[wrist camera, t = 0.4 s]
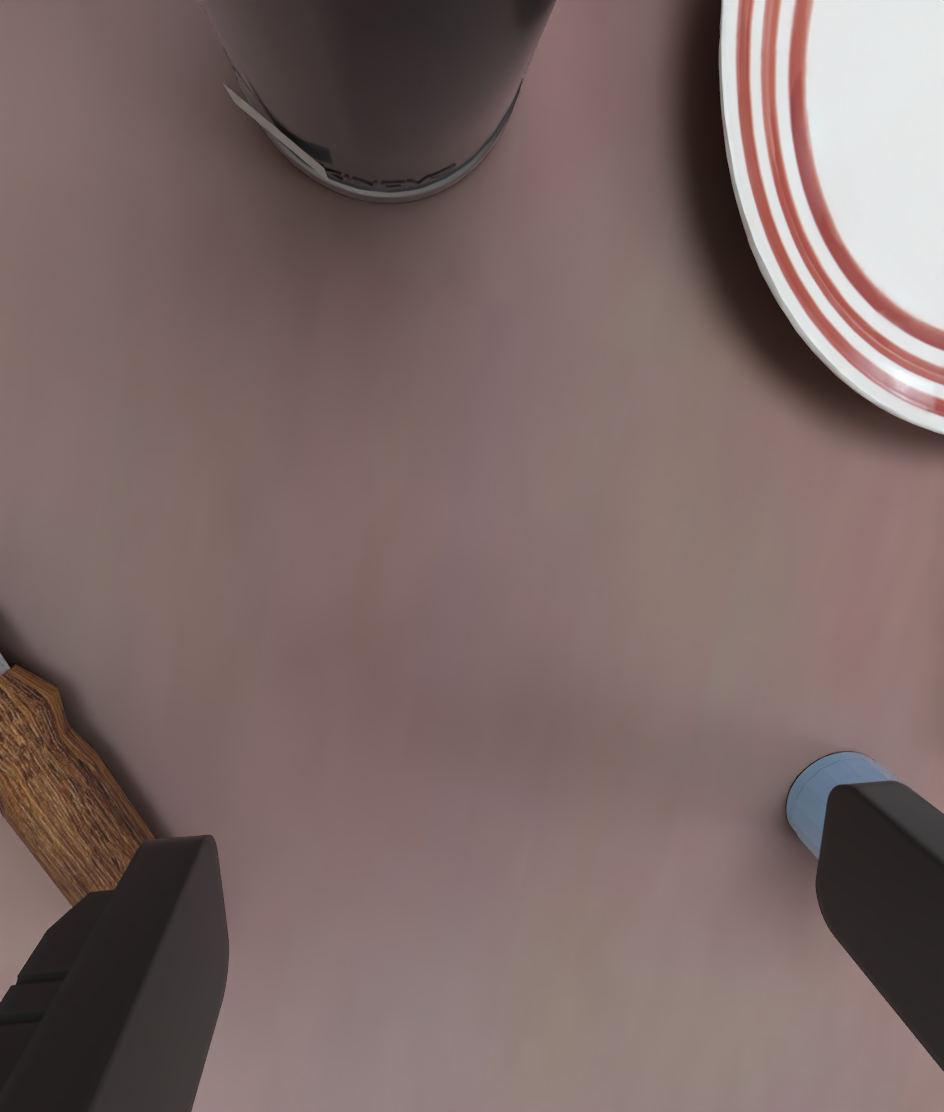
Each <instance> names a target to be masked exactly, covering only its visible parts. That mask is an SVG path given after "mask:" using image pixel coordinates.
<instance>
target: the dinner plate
mask: <svg viewBox="0 0 944 1112" xmlns="http://www.w3.org/2000/svg"><path fill="white" fill-rule="evenodd" d="M719 80H720V99H721V112H722V122H723V130H724V139H725V148H726V155H727V161H728V166H729V171H730V176H731V182H732V186H733V190H734V194H735V198H736V202H737V206H738V209H739V212H740V216H741V219H742V223H743V226H744V229H745V232H746V236H747V239H748V242H749V245H750V248H751V250H752V252H753V255H754V257H755V259H756V262H757V264H758V267H759V269H760V271H761V273H762V275H763V277H764V279H765V281H766V283H767V285H768V286H769V288H770V290H771V292H772V294H773V296H774V297H775V299H776V301H777V303H778V304H779V306H780V308H781V309H782V310H783V312H784V313H785V314H786V316H787V318H788V319H789V321H790V322H791V324H792V326H793V327H794V329H795V330H796V332H797V333H798V334H799V335H800V337H801V338H802V339H803V340H804V342H805V343H806V344H807V345H808V347H809V348H810V349H811V350H812V351H813V352H814V354H815V355H816V356H817V357H818V358H819V359H820V360H821V361H822V362H823V363H824V364H825V365H826V366H827V367H828V368H829V369H830V370H831V371H832V372H833V373H834V374H835V375H836V376H837V377H838V378H839V379H841V380H842V381H843V382H844V383H845V384H847V385H848V386H849V387H850V388H852V389H853V390H854V391H855V392H857V393H858V394H859V395H861V396H862V397H864V398H865V399H867V400H868V401H870V402H871V403H873V404H874V405H876V406H877V407H879V408H881V409H883V410H885V411H887V412H888V413H890V414H892V415H894V416H896V417H898V418H900V419H902V420H905V421H907V422H909V423H912V424H914V425H917V426H919V427H922V428H925V429H927V430H930V431H933V432H936V433H939V434H943V435H944V0H721V18H720V42H719Z"/></svg>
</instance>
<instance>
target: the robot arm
mask: <svg viewBox="0 0 944 1112" xmlns="http://www.w3.org/2000/svg"><path fill="white" fill-rule="evenodd" d="M199 1H200V3H201V5H202V7H203V8H204V10H205V12H206V14H207V16H208V18H209V20H210V22H211V24H212V26H213V28H214V30H215V32H216V34H217V36H218V38H219V40H220V42H221V44H222V46H223V48H224V50H225V52H226V54H227V56H228V58H229V60H230V62H231V64H232V66H233V69H234V72H235V75H236V78H237V80H238V82H239V85H240V87H241V89H242V92H243V94H244V96H245V98H246V99H247V101H248V103H249V105H248V104H247V103H246V102H245V101H244V100H242V99H241V98H240V97H239V96H238V95H237V94H235V93H234V92H233V91H232V90H231V89H229V88H228V87H227V86H226V85H225V84H224V86H225V87H226V89H227V91H228V92H229V94H230V96H231V97H232V99H233V101H234V102H235V103H236V104H237V105H238V106H239V107H240V108H242V109H243V110H244V111H245V112H246V113H248V114H249V115H250V116H251V117H252V118H254V119H255V120H256V121H257V122H258V123H260V125H261V126H262V128H263V130H264V131H265V133H266V134H267V135H268V137H269V138H270V139H271V141H272V142H273V143H274V145H275V146H276V147H277V148H278V149H279V150H280V151H281V152H282V154H283V155H284V156H285V157H286V158H287V159H288V160H289V161H290V162H292V163H293V164H294V165H295V166H296V167H297V168H298V169H299V170H301V171H302V172H303V173H305V174H306V175H307V176H309V177H310V178H312V179H313V180H315V181H316V182H318V183H320V184H321V185H323V186H325V187H327V188H329V189H331V190H333V191H335V192H337V193H340V194H343V195H345V196H348V197H351V198H355V199H359V200H362V201H369V202H375V203H403V202H409V201H415V200H419V199H422V198H426V197H429V196H432V195H434V194H436V193H439V192H441V191H443V190H445V189H447V188H449V187H451V186H452V185H454V184H455V183H457V182H458V181H460V180H461V179H463V178H464V177H465V176H466V175H468V174H469V173H470V172H471V171H472V170H473V169H475V168H476V166H477V165H478V164H479V163H480V162H481V161H482V160H483V159H484V158H485V157H486V155H487V154H488V153H489V151H490V150H491V149H492V148H493V146H494V144H495V143H496V141H497V140H498V138H499V137H500V135H501V133H502V131H503V129H504V127H505V125H506V123H507V121H508V119H509V116H510V114H511V112H512V109H513V107H514V104H515V102H516V99H517V97H518V93H519V90H520V87H521V83H522V79H523V76H524V74H525V72H526V70H527V68H528V65H529V63H530V61H531V58H532V56H533V54H534V51H535V49H536V47H537V44H538V42H539V40H540V37H541V35H542V33H543V30H544V28H545V26H546V23H547V21H548V19H549V16H550V14H551V12H552V9H553V7H554V5H555V2H556V0H199ZM816 894H817V900H818V904H819V907H820V910H821V913H822V915H823V918H824V920H825V922H826V924H827V926H828V928H829V929H830V931H831V932H832V934H833V935H834V936H835V938H836V939H837V940H838V942H839V943H840V944H841V945H842V946H843V948H844V949H845V950H846V951H847V953H848V954H849V955H850V956H851V958H852V959H853V960H854V961H855V963H856V964H857V965H858V966H859V967H860V969H861V970H862V971H863V972H864V974H865V975H866V976H867V977H868V979H869V980H870V981H871V982H872V984H873V985H874V986H875V987H876V988H877V990H878V991H879V992H880V993H881V995H882V996H883V997H884V998H885V1000H886V1001H887V1002H888V1003H889V1005H890V1006H891V1007H892V1008H893V1010H894V1011H895V1012H896V1013H897V1014H898V1016H899V1017H900V1018H901V1019H902V1021H903V1022H904V1023H905V1024H906V1026H907V1027H908V1028H909V1029H910V1031H911V1032H912V1033H913V1034H914V1035H915V1037H916V1038H917V1039H918V1040H919V1042H920V1043H921V1044H922V1045H923V1047H924V1048H925V1049H926V1050H927V1052H928V1053H929V1054H930V1055H931V1057H932V1058H933V1059H934V1060H935V1061H936V1063H937V1064H938V1065H939V1066H940V1068H941V1069H942V1070H943V1071H944V814H943V813H941V812H940V811H939V810H938V809H936V808H935V807H934V806H932V805H931V804H930V803H928V802H927V801H926V800H925V799H923V798H922V797H921V796H919V795H918V794H917V793H915V792H914V791H913V790H912V789H910V788H909V787H907V786H906V785H904V784H903V783H900V782H898V781H894V780H889V781H877V782H865V783H853V784H840V785H837V786H835V787H834V788H833V789H832V790H831V792H830V794H829V796H828V800H827V805H826V812H825V819H824V826H823V833H822V840H821V847H820V854H819V861H818V868H817V875H816ZM228 961H229V939H228V930H227V922H226V914H225V906H224V898H223V890H222V882H221V874H220V866H219V858H218V851H217V845H216V842H215V839H214V838H213V836H212V835H201V836H189V837H177V838H165V839H153V840H146V841H144V842H143V843H142V844H141V845H140V846H139V848H138V849H137V851H136V852H135V854H134V856H133V858H132V860H131V861H130V863H129V865H128V867H127V868H126V870H125V872H124V874H123V876H122V877H121V879H120V881H119V883H118V884H117V886H116V888H115V890H105V891H94V892H90V893H88V894H87V895H86V896H85V897H84V898H83V899H82V900H81V901H79V902H78V903H77V904H76V905H75V906H74V907H73V908H72V909H70V910H69V911H68V912H67V913H66V914H65V915H64V916H63V917H62V918H60V919H59V920H58V921H57V922H56V923H55V924H54V925H53V926H51V927H50V928H49V929H48V930H47V931H46V933H45V934H44V936H43V937H42V939H41V941H40V942H39V944H38V945H37V947H36V948H35V950H34V951H33V953H32V954H31V956H30V958H29V959H28V961H27V962H26V964H25V965H24V967H23V968H22V970H21V971H20V973H19V975H18V976H17V977H18V979H17V983H16V985H13V986H11V987H10V988H9V990H8V992H7V993H6V995H5V996H4V998H3V999H2V1001H1V1002H0V1112H191V1110H192V1107H193V1103H194V1100H195V1096H196V1093H197V1089H198V1086H199V1082H200V1079H201V1075H202V1072H203V1068H204V1064H205V1061H206V1057H207V1054H208V1050H209V1047H210V1043H211V1040H212V1036H213V1033H214V1029H215V1026H216V1022H217V1019H218V1015H219V1011H220V1008H221V1004H222V1001H223V997H224V992H225V987H226V981H227V973H228Z"/></svg>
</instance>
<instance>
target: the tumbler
mask: <svg viewBox="0 0 944 1112" xmlns="http://www.w3.org/2000/svg"><path fill="white" fill-rule="evenodd" d="M889 780H894V781H898V782H900V783H903V782H902V781H901V780H900V779H898V778H897V777H896V776H895V775H893V774H892V773H891V772H890V771H888V770H887V769H886V768H884V767H883V766H882V765H881V764H879V763H877V762H876V761H875V760H873V759H872V758H870V757H868V756H866V755H864V754H860V753H856V752H840V753H835V754H831V755H828V756H826V757H823V758H821V759H820V760H818V761H816V762H814V763H813V764H812V765H810V766H809V767H808V768H807V769H805V770H804V771H803V772H802V773H801V774H800V776H799V777H798V778H797V780H796V781H795V783H794V784H793V786H792V788H791V790H790V792H789V796H788V799H787V806H786V811H787V818H788V821H789V824H790V826H791V828H792V829H793V831H794V832H795V833H796V834H797V835H798V837H799V839H800V840H801V841H802V842H803V843H804V844H805V845H806V846H807V848H808V849H809V850H810V851H811V852H812V853H813V854H814V856H815V857H816V858H817V859H818V860H819V854H820V847H821V840H822V833H823V826H824V819H825V812H826V805H827V800H828V796H829V794H830V792H831V790H832V789H833V788H834V787H835V786H837V785H840V784H853V783H865V782H877V781H889ZM903 784H904V785H906V784H905V783H903ZM906 786H907V785H906ZM907 787H908V786H907ZM909 788H910V787H909ZM910 789H911V788H910ZM914 792H915V791H914ZM915 793H916V792H915ZM918 795H919V794H918ZM919 796H920V795H919ZM923 799H924V798H923ZM928 803H929V802H928Z"/></svg>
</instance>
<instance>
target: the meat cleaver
mask: <svg viewBox="0 0 944 1112" xmlns="http://www.w3.org/2000/svg"><path fill="white" fill-rule="evenodd" d="M0 812H1V814H2V815H3V816H4V818H5V819H6V820H7V822H8V823H9V824H10V826H11V827H12V828H13V830H14V831H15V832H16V833H17V835H18V836H19V837H20V839H21V840H22V841H23V843H24V844H25V845H26V846H27V848H28V849H29V850H30V852H31V853H32V854H33V856H34V857H35V858H36V860H37V861H38V862H39V863H40V865H41V866H42V867H43V869H44V870H45V871H46V873H47V874H48V875H49V877H50V878H51V879H52V880H53V882H54V883H55V884H56V886H57V887H58V888H59V890H60V891H61V892H62V894H63V895H64V896H65V897H66V899H67V900H68V901H69V903H70V904H71V905H72V907H74V906H75V905H76V904H77V903H78V902H79V901H81V900H82V899H83V898H84V897H85V896H86V895H87V894H88V893H90V892H94V891H105V890H115V888H116V886H117V884H118V883H119V881H120V879H121V877H122V876H123V874H124V872H125V870H126V868H127V867H128V865H129V863H130V861H131V860H132V858H133V856H134V854H135V852H136V851H137V849H138V848H139V846H140V845H141V844H142V843H143V842H144V841H146V840H153V839H155V837H154V836H153V834H152V833H151V831H150V830H149V828H148V827H147V826H146V824H145V823H144V821H143V820H142V818H141V817H140V815H139V814H138V812H137V811H136V809H135V808H134V807H133V805H132V804H131V802H130V801H129V799H128V798H127V796H126V795H125V793H124V792H123V790H122V789H121V788H120V786H119V785H118V783H117V782H116V780H115V779H114V777H113V776H112V774H111V773H110V771H109V770H108V769H107V767H106V766H105V764H104V763H103V761H102V760H101V758H100V757H99V755H98V754H97V752H96V751H95V750H94V749H93V748H92V747H91V746H90V745H89V744H88V743H87V742H86V741H85V740H84V739H83V738H82V737H81V736H80V735H79V734H78V733H77V732H76V731H75V730H74V729H73V728H72V727H71V726H70V725H69V724H68V721H67V718H66V714H65V711H64V708H63V705H62V701H61V698H60V695H59V691H58V688H57V686H56V685H54V684H52V683H50V682H48V681H46V680H45V679H43V678H41V677H39V676H37V675H35V674H33V673H31V672H29V671H27V670H26V669H24V668H22V667H20V666H18V665H16V664H10V665H8V663H7V662H6V660H5V659H4V657H3V656H2V655H1V653H0Z"/></svg>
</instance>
